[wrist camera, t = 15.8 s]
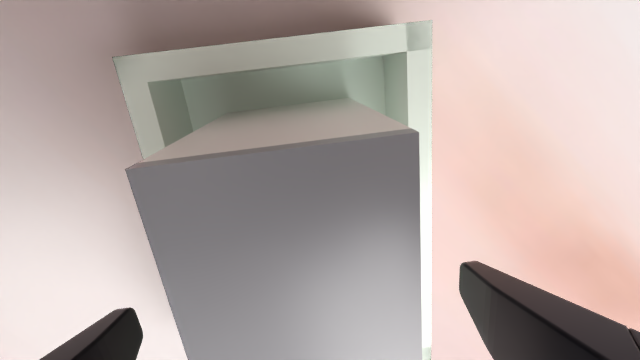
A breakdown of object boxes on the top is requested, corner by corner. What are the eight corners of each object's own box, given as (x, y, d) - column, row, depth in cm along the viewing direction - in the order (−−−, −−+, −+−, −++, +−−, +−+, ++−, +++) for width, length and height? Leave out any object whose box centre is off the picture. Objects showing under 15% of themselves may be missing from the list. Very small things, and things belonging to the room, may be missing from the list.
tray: (398, 33, 13) (432, 19, 10) (405, 305, 17) (431, 360, 14) (161, 61, 13) (112, 56, 9) (230, 329, 17) (213, 390, 14)
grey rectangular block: (349, 97, 13) (418, 132, 5) (364, 281, 16) (423, 470, 8) (227, 112, 13) (124, 169, 5) (265, 294, 16) (234, 498, 8)
